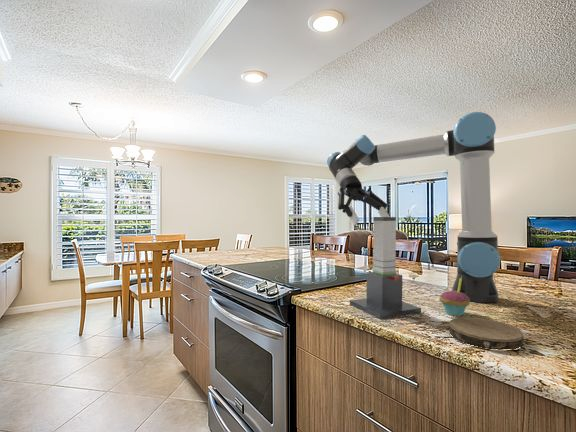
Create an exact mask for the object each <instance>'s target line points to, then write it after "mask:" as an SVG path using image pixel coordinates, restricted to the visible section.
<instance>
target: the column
mask: <svg viewBox="0 0 576 432" xmlns="http://www.w3.org/2000/svg"><path fill="white" fill-rule="evenodd" d="M372 228H373V233H372V234H373V235H372V237H373V241H372V243H373V245H372V247H373V250H372V251H373V252H372V253H373V254H372V257H373V259H372V264H373V265H372V272H373V273H374V274H378V275H381V276H388V275H396V274H397V272H396V269H397V268H396V266H397V265H396V262H397V260H396V257H397V256H396V255H397V253H396V251H397V249H396V248H397V246H396V245H397V244H396V243H397V239H396V238H397V237H396V235H397V233H396V232H397V230H396V229H397V217H395V216H390V217H381V216H373V227H372Z"/></svg>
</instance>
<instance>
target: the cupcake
mask: <svg viewBox="0 0 576 432" xmlns="http://www.w3.org/2000/svg"><path fill="white" fill-rule="evenodd" d="M461 282H462V276H461V278H460V279H459V285H458V291H452V290H447V291H445V292H442V293H441V294H440V295H439V298H438V301H439V302H441V303H442V305H443V306H444V310H445V313H446V314H447V315H449V314H450V316H453V315H456V316H455V317H462V316H463V315H464V313H465V311H466V309H467V306H469V305H471V301H470V298H469V297H468V296H467V295H466V294H464V293H462V292H460V288H461ZM461 315H462V316H461Z"/></svg>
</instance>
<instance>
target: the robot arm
mask: <svg viewBox="0 0 576 432" xmlns="http://www.w3.org/2000/svg"><path fill="white" fill-rule="evenodd" d="M453 128H454V129H451V130H446V131H445V133H443V134H438V135H432V136H424V137H418V138H411V139H406V140H399V141H395V142H387V143H381V144H376V145H375V144H374V143H373V141H372V140H371V139H370V138H369V137H368V136H367V135H366V134H363V135H361V136H360V137H358V138H356V139H355V140H354V142H352V143H351V144H350V145H349V146H347V147H346V148H345V149H344V150H343V151H342V152H341V151H335V152H334V153H331V154H330V155H329V156H328V157H327V160H326V163H327V166H328V169H329V171H330V172H331V174H332V176H333V177H334V179H335V181H336V182H337V184H338V186H339V189H338V192H337V195H338V203H337V204H338V205H337V209H338V210H340V211H342V212H343V213H344V214H346V215H347V217H349V219H350V220H351V223H352V224H353V225H354V226H357V224H358V223H359V222H360V218H359V216H358V214H357V213H356V211H355V210H354V208H353V207H352V206H351V202H352V201H355V202H356V201H358V202H362V203H365V204H367V205H369V206H371V207H372V208H373V209H376V211H377V213H378V215H379V217H391V216H390V214H389V212H388V211H387V207H388V206H389V205H388V203H386V202H385V201H384V200H382V199H381V198H380V197H379V196H378V195H376V194H375V193H374V192H373V191H372V189H371V188H367V190H364V188H363V187H362V182H361V181H360V179H359V178H358V176H357V174H356V173H355V172H354V170H353V168H354V167H356V166H357V165H359V164H361V165H363V166H368V167H369V166H372V165H374V164H378V163H379V164H380V163H385V162H386V163H387V162H394V161H401V160H409V159H417V158H425V157H434V156H440V155H446V156H447V157H454V158H455V159H456V160H458V161H459V171H460V172H459V173H460V174H459V175H460V179H459V180H460V200H461V201H460V203H461V204H460V205H461V232H459V233H458V234H457V241H456V246H457V250H456V251H457V253H456V254H457V255H456V257H457V258H456V263H457V264H456V265H457V266H456V269H457V270H456V272H457V273H456V277H455V280H454V283H453V285H452V289H451V291H458V285H459V279H460V278H461V276H462V282H461V288H460V292H462V293H464V294H466V295H467V296H468V297H469V298H470V302H473V303H485V304H486V303H488V304H489V303H490V304H491V303H496V302H499V299H500V298H499V292H498V289H497V285H496V282H495V280H494V274H495V273H496V272H497V271H498V269H499V267H500V265H501V256H500V253H499V244H498V242H499V241H498V234H496V233H495V232H494V231H493V229H492V226H493V225H492V203H491V201H492V200H491V199H492V198H491V196H492V195H491V174H490V173H491V172H490V159H491V157H492V156H493V155H494V154H495V134H496V131H497V130H496V129H497V126H496V123H495V121H494V118H493V117H491V115H489V114H488V113H485V112H482V111H473V112H468V113H467V114H465V115H463V116H461V117H460V118H459V119H458V120H457V122H456V123H455V124H454V127H453ZM345 196H346V197H347V201H346V203H345Z"/></svg>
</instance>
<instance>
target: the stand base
mask: <svg viewBox="0 0 576 432" xmlns="http://www.w3.org/2000/svg"><path fill="white" fill-rule="evenodd" d="M349 306H352V307H354V308H356V309H357V310H361V311H362V312H365V313H366V314H367V315H368V314H369V315H371V316H373V317H374V318H377V319H379V318H380V319H379V320H381V319H382V318H383V319H387V318H389V317H390V318H394V317H403V316H408V315H414V314H420V313H422V308H421V307H420V306H417V305H414V304H411V303H408V302H405V301H403V274H400V273H396V275H388V276H381V275H378V274H374V273H373V271H370V272H366V298H360V299H357V298H356V299H351V300H349Z"/></svg>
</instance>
